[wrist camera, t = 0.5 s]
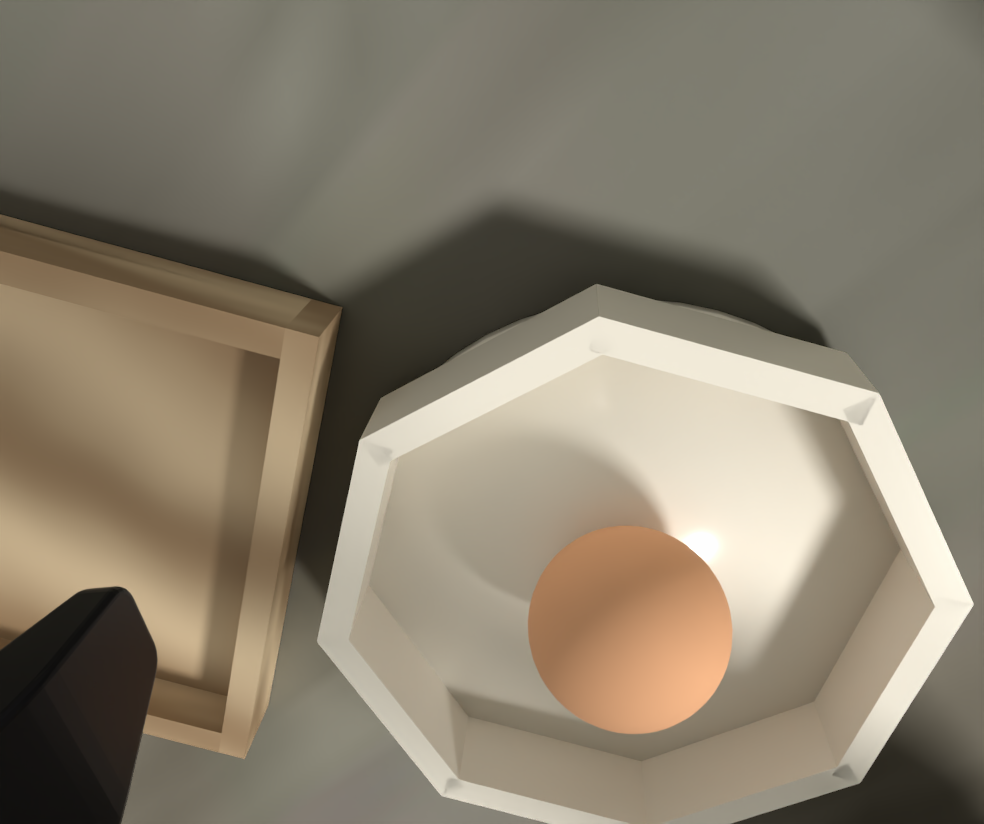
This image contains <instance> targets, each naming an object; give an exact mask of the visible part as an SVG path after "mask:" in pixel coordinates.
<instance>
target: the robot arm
mask: <svg viewBox="0 0 984 824" xmlns="http://www.w3.org/2000/svg"><path fill="white" fill-rule="evenodd" d="M157 662H158V659H157V650H156V646H155V643H154V641H153V639H152V636H151V634H150V632H149V630H148V628H147V626H146V624H145V621H144V619H143V617H142V615H141V613H140V611H139V609H138V606H137V604H136V602H135V600H134V598H133V596H132V595H131V593H130V592H129V591H128V590H127V589H125V588H123V587H119V586H113V587H102V588H90V589H85V590H81V591H79V592H77V593H76V594H74V595H73V596H72V597H70V598H69V599H68V600H66V601H65V602H64V603H62V604H61V605H60V606H58V607H57V608H56V609H54V610H53V611H52V612H50V613H49V614H48V615H46V616H45V617H43V618H42V619H41V620H39V621H38V622H37V623H35V624H34V625H33V626H31V627H30V628H29V629H27V630H26V631H25V632H23V633H22V634H21V635H19V636H18V637H17V638H15V639H14V640H13V641H11V642H10V643H9V644H7V645H6V646H5V647H3V648H2V649H1V650H0V824H121V821H122V818H123V814H124V810H125V806H126V802H127V798H128V795H129V790H130V786H131V781H132V777H133V773H134V768H135V764H136V759H137V755H138V751H139V746H140V742H141V738H142V733H143V729H144V724H145V720H146V716H147V711H148V707H149V703H150V698H151V694H152V689H153V685H154V681H155V676H156V671H157Z"/></svg>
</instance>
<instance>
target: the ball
mask: <svg viewBox="0 0 984 824" xmlns="http://www.w3.org/2000/svg"><path fill="white" fill-rule="evenodd" d="M732 631H733V629H732V621H731V614H730V609H729V605H728V602H727V599H726V596H725V593H724V591H723V589H722V587H721V585H720V582H719V581H718V579H717V578H716V576H715V574H714V573H713V572H712V570H711V569H710V567H709V566H708V565H707V564H706V562H705V561H704V560H703V559H702V558H701V557H700V556H699V555H698V554H697V553H696V552H695V551H693V550H692V549H691V548H690V547H689V546H687V545H686V544H684V543H683V542H681V541H679V540H678V539H676V538H674V537H672V536H670V535H668V534H665V533H663V532H660V531H657V530H654V529H650V528H646V527H640V526H614V527H607V528H603V529H598V530H595V531H593V532H590V533H587V534H585V535H583V536H581V537H579V538H577V539H576V540H574V541H573V542H571V543H570V544H568V545H567V546H566V547H564V548H563V549H562V550H561V551H560V552H559V553H558V554H556V556H555V557H554V558H553V559H552V560H551V561H550V563H549V564H548V565H547V567H546V568H545V570H544V571H543V573H542V574H541V576H540V578H539V580H538V582H537V585H536V587H535V589H534V592H533V595H532V599H531V603H530V608H529V615H528V637H529V644H530V648H531V653H532V657H533V660H534V663H535V665H536V668H537V670H538V672H539V674H540V677H541V678H542V680H543V682H544V683H545V685H546V686H547V688H548V689H549V690H550V692H551V693H552V694H553V696H554V697H555V698H556V699H557V700H558V701H559V702H560V703H561V704H562V705H563V706H564V707H565V708H566V709H567V710H569V711H570V712H571V713H573V714H574V715H575V716H577V717H578V718H580V719H582V720H583V721H585V722H587V723H589V724H592V725H594V726H596V727H598V728H601V729H604V730H607V731H611V732H616V733H624V734H645V733H652V732H657V731H661V730H664V729H667V728H669V727H672V726H674V725H676V724H678V723H680V722H682V721H684V720H686V719H687V718H689V717H690V716H692V715H693V714H694V713H696V712H697V711H698V710H699V709H700V708H701V707H702V706H703V705H704V704H705V703H706V702H707V701H708V700H709V699H710V697H711V696H712V695H713V694H714V692H715V691H716V689H717V687H718V686H719V684H720V682H721V680H722V678H723V676H724V674H725V671H726V669H727V666H728V662H729V658H730V654H731V649H732Z"/></svg>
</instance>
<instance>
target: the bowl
mask: <svg viewBox="0 0 984 824" xmlns="http://www.w3.org/2000/svg"><path fill="white" fill-rule="evenodd" d="M614 526H640V527H646V528H650V529H654V530H657V531H660V532H663V533H665V534H668V535H670V536H672V537H674V538H676V539H678V540H679V541H681V542H683V543H684V544H686V545H687V546H689V547H690V548H691V549H692V550H693V551H695V552H696V553H697V554H698V555H699V556H700V557H701V558H702V559H703V560H704V561H705V562H706V564H707V565H708V566H709V567H710V569H711V570H712V572H713V573H714V574H715V576H716V578H717V579H718V581H719V582H720V585H721V587H722V589H723V591H724V593H725V596H726V599H727V602H728V605H729V609H730V614H731V621H732V629H733V631H732V649H731V654H730V658H729V662H728V666H727V669H726V671H725V674H724V676H723V678H722V680H721V682H720V684H719V686H718V687H717V689H716V691H715V692H714V694H713V695H712V696H711V697H710V699H709V700H708V701H707V702H706V703H705V704H704V705H703V706H702V707H701V708H700V709H699V710H698V711H697V712H696V713H694V714H693V715H692V716H690V717H689V718H687V719H686V720H684V721H682V722H680V723H678V724H676V725H674V726H672V727H669V728H667V729H664V730H661V731H657V732H652V733H645V734H624V733H616V732H611V731H607V730H604V729H601V728H598V727H596V726H594V725H592V724H589V723H587V722H585V721H583V720H582V719H580V718H578V717H577V716H575V715H574V714H573V713H571V712H570V711H569V710H567V709H566V708H565V707H564V706H563V705H562V704H561V703H560V702H559V701H558V700H557V699H556V698H555V697H554V696H553V694H552V693H551V692H550V690H549V689H548V688H547V686H546V685H545V683H544V682H543V680H542V678H541V677H540V674H539V672H538V670H537V668H536V665H535V663H534V660H533V657H532V653H531V648H530V644H529V637H528V615H529V608H530V603H531V599H532V595H533V592H534V589H535V587H536V585H537V582H538V580H539V578H540V576H541V574H542V573H543V571H544V570H545V568H546V567H547V565H548V564H549V563H550V561H551V560H552V559H553V558H554V557H555V556H556V554H558V553H559V552H560V551H561V550H562V549H563V548H564V547H566V546H567V545H568V544H570V543H571V542H573V541H574V540H576V539H577V538H579V537H581V536H583V535H585V534H587V533H590V532H593V531H595V530H598V529H603V528H607V527H614ZM972 607H973V602H972V600H971V597H970V595H969V593H968V591H967V588H966V586H965V584H964V582H963V580H962V577H961V575H960V573H959V571H958V568H957V566H956V564H955V562H954V559H953V557H952V555H951V553H950V550H949V548H948V546H947V544H946V541H945V539H944V537H943V535H942V533H941V530H940V528H939V526H938V524H937V521H936V519H935V517H934V515H933V512H932V510H931V508H930V506H929V503H928V501H927V499H926V497H925V495H924V492H923V490H922V488H921V486H920V483H919V481H918V479H917V477H916V474H915V472H914V470H913V468H912V465H911V463H910V461H909V459H908V457H907V454H906V452H905V450H904V448H903V445H902V443H901V441H900V439H899V436H898V434H897V432H896V430H895V427H894V425H893V423H892V421H891V419H890V416H889V414H888V412H887V410H886V407H885V405H884V403H883V401H882V398H881V396H880V394H879V393H878V391H877V390H876V389H875V388H874V386H873V385H872V384H871V383H870V381H869V380H868V379H867V378H866V376H865V375H864V374H863V373H862V371H861V370H860V369H859V368H858V366H857V365H856V364H855V363H854V361H853V360H852V359H851V358H850V356H849V355H848V354H847V353H846V352H842V351H839V350H835V349H831V348H828V347H824V346H820V345H817V344H813V343H810V342H806V341H802V340H799V339H795V338H791V337H788V336H784V335H780V334H777V333H774V332H772V331H770V330H768V329H766V328H764V327H762V326H760V325H758V324H756V323H753V322H750V321H747V320H744V319H741V318H739V317H736V316H733V315H730V314H727V313H724V312H721V311H718V310H714V309H709V308H704V307H699V306H694V305H690V304H685V303H680V302H669V301H657V300H653V299H650V298H646V297H643V296H639V295H635V294H632V293H628V292H624V291H621V290H617V289H613V288H610V287H606V286H603V285H599V284H595V285H593V286H591V287H589V288H587V289H585V290H584V291H582V292H580V293H578V294H576V295H574V296H572V297H570V298H568V299H567V300H565V301H563V302H561V303H559V304H557V305H555V306H553V307H551V308H550V309H548V310H546V311H544V312H542V313H540V314H537V315H533V316H530V317H527V318H523V319H520V320H518V321H516V322H514V323H512V324H509V325H507V326H505V327H503V328H501V329H498V330H496V331H494V332H492V333H489V334H487V335H485V336H484V337H482V338H481V339H479V340H477V341H476V342H474V343H472V344H471V345H469V346H468V347H466V348H464V349H463V350H461V351H460V352H458V353H456V354H455V355H454V356H452V357H451V358H450V359H449V360H447V361H446V362H445V363H444V364H443V365H441V366H440V367H438V368H436V369H434V370H433V371H431V372H429V373H427V374H425V375H423V376H421V377H419V378H417V379H416V380H414V381H412V382H410V383H408V384H406V385H404V386H402V387H400V388H399V389H397V390H395V391H393V392H391V393H389V394H387V395H385V396H383V397H382V398H380V400H379V402H378V404H377V406H376V408H375V410H374V412H373V414H372V416H371V418H370V420H369V422H368V424H367V426H366V428H365V430H364V432H363V434H362V436H361V438H360V440H359V445H358V449H357V454H356V459H355V464H354V468H353V473H352V478H351V483H350V487H349V492H348V497H347V502H346V506H345V511H344V516H343V521H342V525H341V530H340V535H339V539H338V544H337V549H336V554H335V558H334V563H333V568H332V573H331V577H330V582H329V587H328V592H327V596H326V601H325V606H324V611H323V615H322V620H321V625H320V629H319V634H318V639H317V643H318V644H319V645H320V646H321V648H322V649H323V650H324V651H325V652H326V654H327V655H328V656H329V657H330V659H331V660H332V661H333V662H334V664H335V665H336V666H337V667H338V669H339V670H340V671H341V672H342V673H343V675H344V676H345V677H346V678H347V680H348V681H349V682H350V683H351V685H352V686H353V687H354V688H355V690H356V691H357V692H358V693H359V695H360V696H361V697H362V698H363V699H364V701H365V702H366V703H367V704H368V706H369V707H370V708H371V709H372V711H373V712H374V713H375V714H376V716H377V717H378V718H379V719H380V721H381V722H382V723H383V724H384V725H385V727H386V728H387V729H388V730H389V732H390V733H391V734H392V735H393V737H394V738H395V739H396V740H397V742H398V743H399V744H400V745H401V746H402V748H403V749H404V750H405V751H406V753H407V754H408V755H409V756H410V758H411V759H412V760H413V761H414V763H415V764H416V765H417V766H418V768H419V769H420V770H421V771H422V772H423V774H424V775H425V776H426V777H427V779H428V780H429V781H430V782H431V784H432V785H433V786H434V787H435V789H436V790H437V791H438V792H439V794H440V795H441V796H444V797H448V798H452V799H456V800H460V801H463V802H467V803H471V804H475V805H479V806H483V807H487V808H491V809H495V810H499V811H503V812H506V813H510V814H514V815H518V816H522V817H526V818H530V819H534V820H538V821H542V822H545V823H549V824H731V823H734V822H738V821H741V820H744V819H747V818H750V817H754V816H757V815H760V814H763V813H766V812H770V811H773V810H776V809H779V808H782V807H786V806H789V805H792V804H795V803H798V802H802V801H805V800H808V799H811V798H814V797H818V796H821V795H824V794H827V793H830V792H834V791H837V790H840V789H843V788H847V787H850V786H853V785H856V784H859V783H861V781H862V780H863V778H864V776H865V775H866V773H867V772H868V770H869V769H870V767H871V765H872V764H873V762H874V761H875V759H876V758H877V756H878V754H879V753H880V751H881V750H882V748H883V747H884V745H885V743H886V742H887V740H888V739H889V737H890V736H891V734H892V732H893V731H894V729H895V728H896V726H897V725H898V723H899V721H900V720H901V718H902V717H903V715H904V714H905V712H906V710H907V709H908V707H909V706H910V704H911V702H912V701H913V699H914V698H915V696H916V695H917V693H918V691H919V690H920V688H921V687H922V685H923V684H924V682H925V680H926V679H927V677H928V676H929V674H930V673H931V671H932V669H933V668H934V666H935V665H936V663H937V662H938V660H939V658H940V657H941V655H942V654H943V652H944V651H945V649H946V647H947V646H948V644H949V643H950V641H951V640H952V638H953V636H954V635H955V633H956V632H957V630H958V629H959V627H960V625H961V624H962V622H963V621H964V619H965V618H966V616H967V614H968V613H969V611H970V610H971V608H972Z"/></svg>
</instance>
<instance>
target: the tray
mask: <svg viewBox="0 0 984 824" xmlns="http://www.w3.org/2000/svg"><path fill="white" fill-rule="evenodd" d="M341 313H342V307H339V306H335V305H332V304H328V303H324V302H321V301H317V300H313V299H310V298H306V297H302V296H299V295H295V294H291V293H288V292H284V291H280V290H277V289H273V288H269V287H266V286H262V285H258V284H255V283H251V282H247V281H244V280H240V279H236V278H233V277H229V276H225V275H222V274H218V273H214V272H211V271H207V270H203V269H199V268H196V267H192V266H188V265H185V264H181V263H177V262H174V261H170V260H166V259H163V258H159V257H155V256H152V255H148V254H144V253H141V252H137V251H133V250H130V249H126V248H122V247H119V246H115V245H111V244H108V243H104V242H100V241H97V240H93V239H89V238H86V237H82V236H78V235H75V234H71V233H67V232H64V231H60V230H56V229H53V228H49V227H45V226H42V225H38V224H34V223H30V222H27V221H23V220H19V219H16V218H12V217H8V216H5V215H1V214H0V650H1V649H2V648H3V647H5V646H6V645H7V644H9V643H10V642H11V641H13V640H14V639H15V638H17V637H18V636H19V635H21V634H22V633H23V632H25V631H26V630H27V629H29V628H30V627H31V626H33V625H34V624H35V623H37V622H38V621H39V620H41V619H42V618H43V617H45V616H46V615H48V614H49V613H50V612H52V611H53V610H54V609H56V608H57V607H58V606H60V605H61V604H62V603H64V602H65V601H66V600H68V599H69V598H70V597H72V596H73V595H74V594H76V593H77V592H79V591H81V590H85V589H90V588H102V587H113V586H119V587H123V588H125V589H127V590H128V591H129V592H130V593H131V595H132V596H133V598H134V600H135V602H136V604H137V606H138V609H139V611H140V613H141V615H142V617H143V619H144V621H145V624H146V626H147V628H148V630H149V632H150V634H151V636H152V639H153V641H154V643H155V646H156V650H157V659H158V662H157V671H156V676H155V681H154V685H153V689H152V694H151V698H150V703H149V707H148V711H147V716H146V720H145V724H144V729H143V733H145V734H149V735H153V736H157V737H161V738H165V739H169V740H173V741H177V742H180V743H184V744H188V745H192V746H196V747H200V748H204V749H208V750H212V751H216V752H220V753H223V754H227V755H231V756H235V757H239V758H243V759H245V757H246V755H247V752H248V750H249V748H250V746H251V743H252V741H253V739H254V737H255V734H256V732H257V730H258V727H259V725H260V723H261V721H262V718H263V716H264V714H265V712H266V709H267V707H268V704H269V699H270V694H271V688H272V683H273V677H274V672H275V667H276V661H277V656H278V651H279V645H280V640H281V635H282V629H283V624H284V618H285V613H286V608H287V602H288V597H289V592H290V586H291V581H292V576H293V570H294V565H295V559H296V554H297V549H298V543H299V538H300V533H301V527H302V522H303V516H304V511H305V506H306V500H307V495H308V490H309V484H310V479H311V474H312V468H313V463H314V457H315V452H316V447H317V441H318V436H319V431H320V425H321V420H322V415H323V409H324V404H325V398H326V393H327V388H328V382H329V377H330V372H331V366H332V361H333V356H334V350H335V345H336V339H337V334H338V329H339V323H340V318H341Z"/></svg>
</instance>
